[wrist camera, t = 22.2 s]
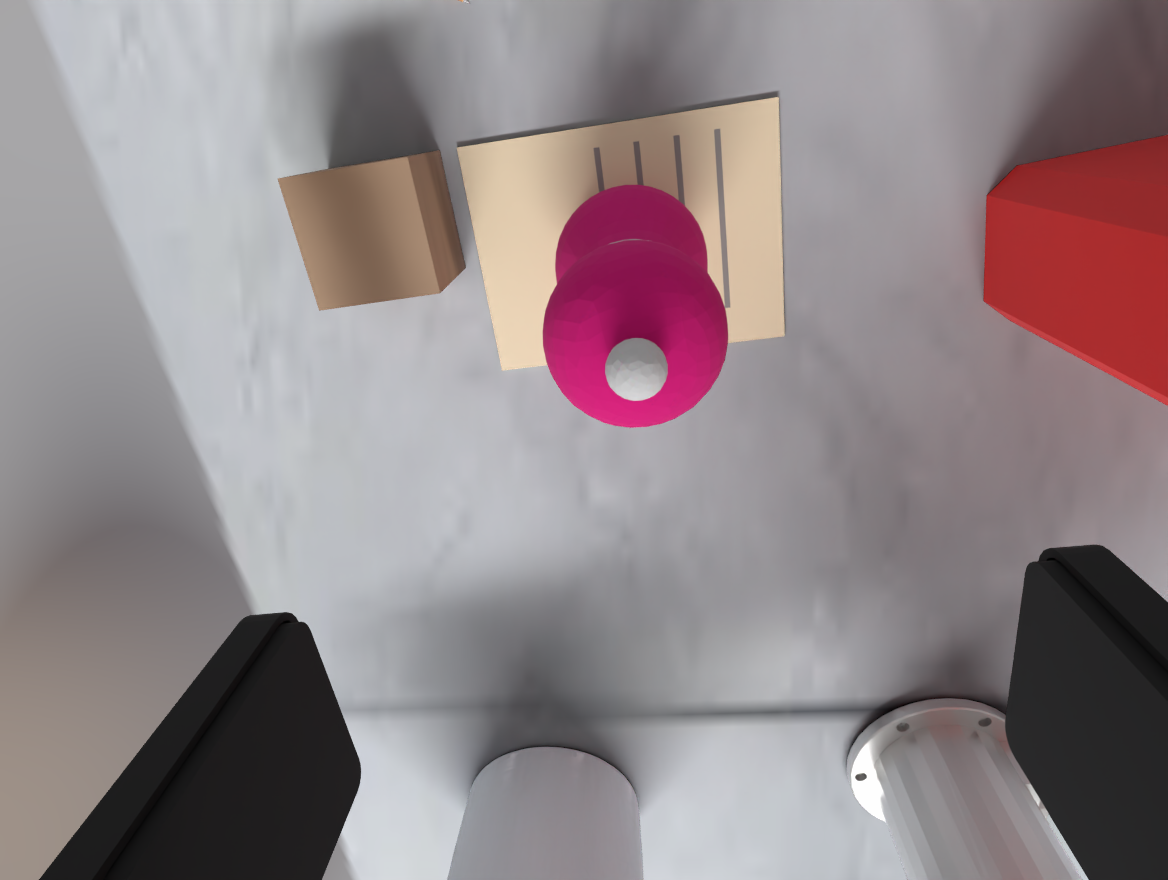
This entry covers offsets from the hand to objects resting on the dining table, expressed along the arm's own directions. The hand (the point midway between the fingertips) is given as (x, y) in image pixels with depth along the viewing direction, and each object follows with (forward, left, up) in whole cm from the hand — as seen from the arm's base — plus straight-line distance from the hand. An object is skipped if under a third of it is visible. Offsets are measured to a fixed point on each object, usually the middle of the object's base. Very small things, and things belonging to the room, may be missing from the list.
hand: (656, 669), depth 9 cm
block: (+12, -3, -31) cm, 34 cm away
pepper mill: (0, 0, -31) cm, 31 cm away
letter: (0, 0, -31) cm, 31 cm away
